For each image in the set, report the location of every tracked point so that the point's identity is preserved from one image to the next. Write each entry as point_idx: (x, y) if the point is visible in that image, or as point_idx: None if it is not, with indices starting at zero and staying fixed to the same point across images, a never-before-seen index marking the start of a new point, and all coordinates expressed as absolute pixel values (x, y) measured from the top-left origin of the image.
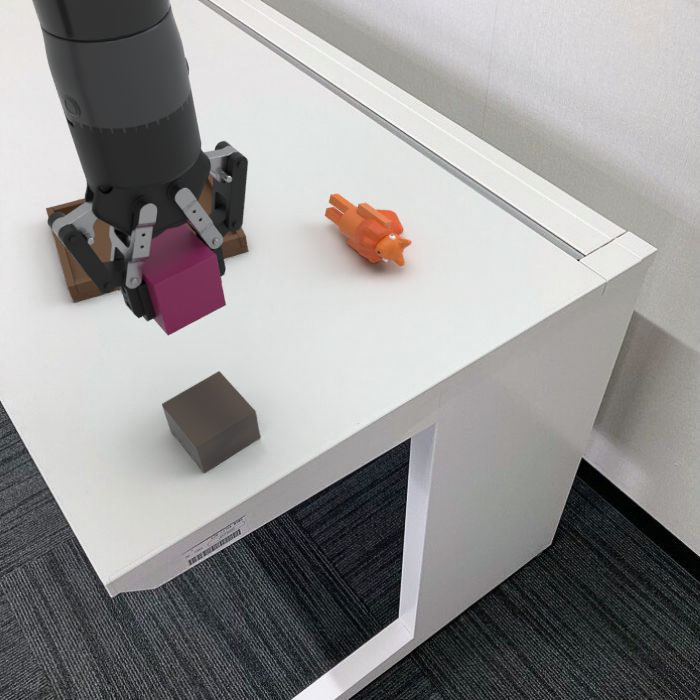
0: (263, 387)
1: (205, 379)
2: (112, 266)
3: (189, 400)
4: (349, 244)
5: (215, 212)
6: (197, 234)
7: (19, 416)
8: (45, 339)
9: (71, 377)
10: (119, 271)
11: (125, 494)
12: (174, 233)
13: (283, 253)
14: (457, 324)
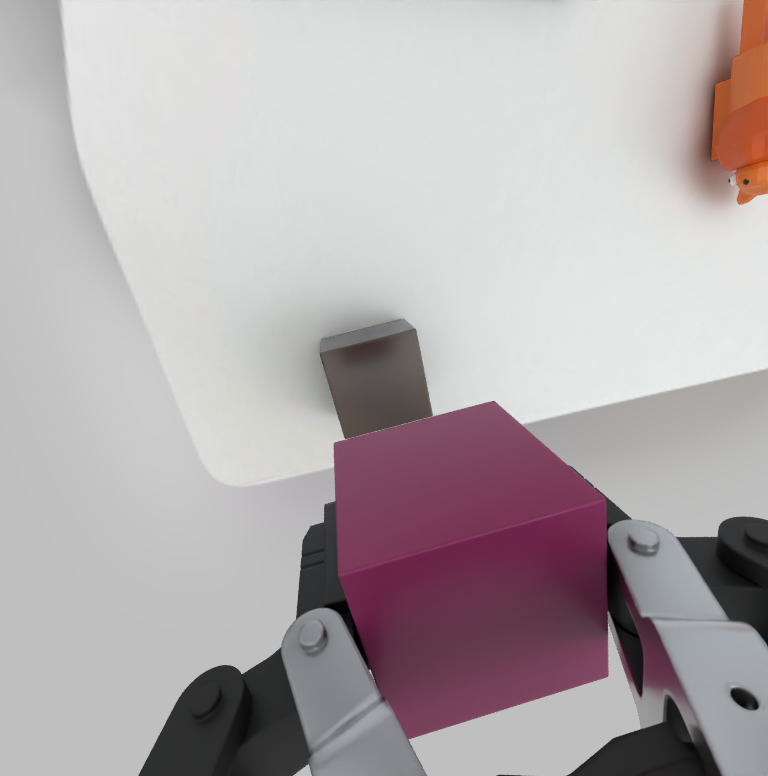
0: (454, 323)
1: (392, 337)
2: (287, 747)
3: (358, 363)
4: (716, 90)
5: (748, 600)
6: (612, 579)
7: (102, 210)
8: (146, 25)
9: (192, 163)
10: (307, 759)
11: (247, 406)
12: (552, 559)
13: (618, 36)
14: (705, 333)
